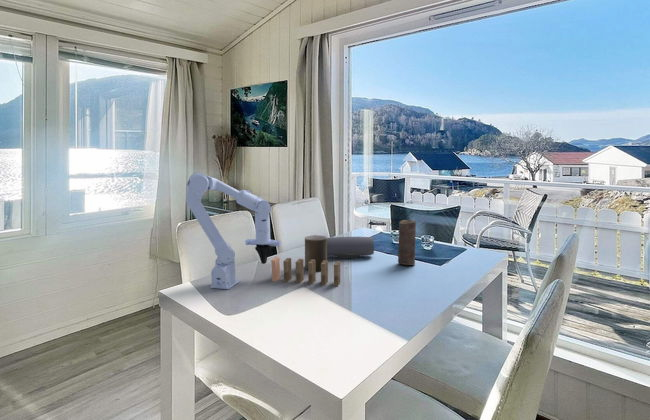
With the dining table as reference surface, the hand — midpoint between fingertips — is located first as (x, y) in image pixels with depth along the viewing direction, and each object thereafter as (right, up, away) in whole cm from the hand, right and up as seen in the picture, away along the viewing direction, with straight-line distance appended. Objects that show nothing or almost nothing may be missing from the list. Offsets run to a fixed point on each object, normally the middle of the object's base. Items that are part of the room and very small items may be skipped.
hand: (264, 262), depth 150 cm
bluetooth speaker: (+36, -2, +29) cm, 46 cm away
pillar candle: (+21, -4, +13) cm, 25 cm away
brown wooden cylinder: (+61, -3, +17) cm, 63 cm away
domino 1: (+5, -7, 0) cm, 8 cm away
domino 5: (+24, -7, -5) cm, 26 cm away
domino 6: (+29, -7, -6) cm, 31 cm away
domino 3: (+15, -7, -2) cm, 16 cm away
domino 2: (+10, -7, -1) cm, 12 cm away
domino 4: (+19, -7, -4) cm, 21 cm away
